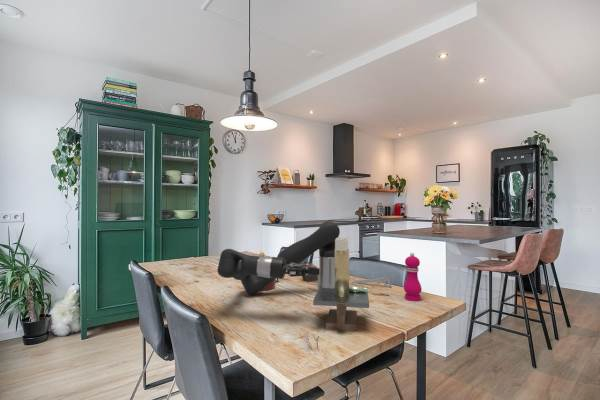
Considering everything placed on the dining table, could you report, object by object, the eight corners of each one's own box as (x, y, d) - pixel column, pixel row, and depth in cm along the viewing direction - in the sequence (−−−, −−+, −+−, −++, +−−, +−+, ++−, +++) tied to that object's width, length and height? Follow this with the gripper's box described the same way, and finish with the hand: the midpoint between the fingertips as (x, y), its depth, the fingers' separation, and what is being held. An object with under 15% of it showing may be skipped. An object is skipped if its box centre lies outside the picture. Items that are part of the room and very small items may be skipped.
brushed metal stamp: (313, 305, 103) (313, 240, 103) (319, 291, 119) (319, 236, 119) (369, 308, 100) (368, 241, 100) (367, 294, 115) (367, 236, 116)
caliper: (391, 287, 154) (391, 275, 154) (390, 288, 153) (390, 275, 153) (352, 282, 165) (352, 270, 165) (351, 283, 164) (351, 271, 164)
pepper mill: (401, 296, 139) (400, 251, 139) (417, 296, 139) (416, 251, 139) (408, 301, 131) (407, 254, 132) (424, 301, 132) (424, 253, 132)
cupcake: (307, 283, 163) (307, 264, 164) (298, 279, 172) (298, 261, 172) (322, 280, 169) (322, 262, 169) (312, 277, 177) (312, 259, 177)
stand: (324, 332, 100) (324, 302, 100) (330, 311, 120) (330, 287, 120) (356, 334, 98) (356, 304, 99) (356, 313, 118) (356, 288, 118)
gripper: (275, 273, 120) (320, 278, 117) (265, 282, 107) (316, 287, 104) (276, 254, 120) (321, 258, 117) (267, 259, 107) (317, 264, 104)
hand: (319, 271), depth 110 cm, fingers closed
